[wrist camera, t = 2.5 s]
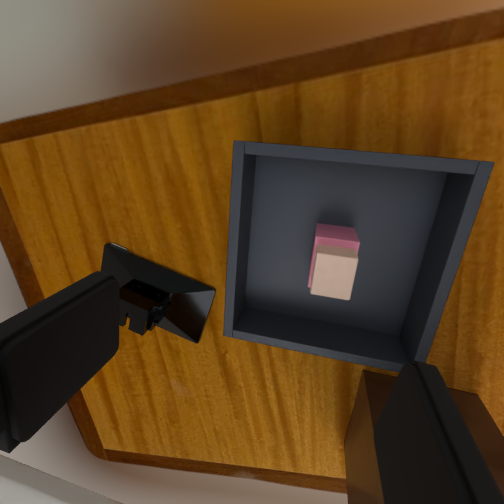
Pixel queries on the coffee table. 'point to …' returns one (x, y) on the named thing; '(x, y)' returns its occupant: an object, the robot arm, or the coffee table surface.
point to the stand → (362, 437)
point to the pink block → (333, 261)
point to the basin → (369, 254)
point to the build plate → (157, 295)
